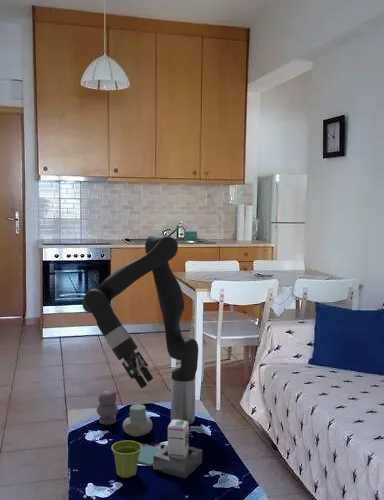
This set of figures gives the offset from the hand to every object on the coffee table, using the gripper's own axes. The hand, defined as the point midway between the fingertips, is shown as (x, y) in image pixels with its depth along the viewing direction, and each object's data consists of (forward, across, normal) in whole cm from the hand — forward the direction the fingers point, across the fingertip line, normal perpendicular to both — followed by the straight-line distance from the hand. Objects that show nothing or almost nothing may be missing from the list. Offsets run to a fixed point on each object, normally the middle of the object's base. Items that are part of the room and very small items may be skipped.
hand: (147, 383), depth 178 cm
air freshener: (+15, +20, +21) cm, 32 cm away
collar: (+27, -2, +6) cm, 28 cm away
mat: (+20, +4, +16) cm, 25 cm away
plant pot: (+19, -9, +19) cm, 28 cm away
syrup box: (+28, -2, +6) cm, 28 cm away
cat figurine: (+6, +28, +32) cm, 42 cm away
